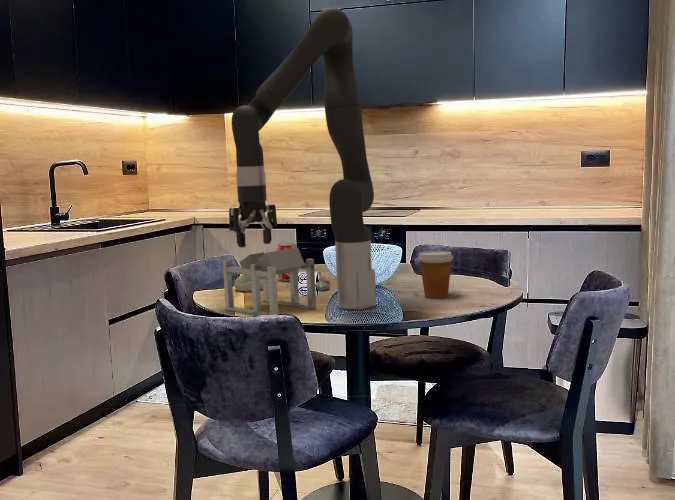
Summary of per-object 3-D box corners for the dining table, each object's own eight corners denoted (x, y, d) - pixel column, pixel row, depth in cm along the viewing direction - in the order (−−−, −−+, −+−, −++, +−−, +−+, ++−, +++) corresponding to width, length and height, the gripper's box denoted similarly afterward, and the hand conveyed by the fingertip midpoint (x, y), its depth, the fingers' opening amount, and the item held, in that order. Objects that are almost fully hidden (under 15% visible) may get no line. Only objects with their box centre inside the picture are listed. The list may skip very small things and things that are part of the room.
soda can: (303, 278, 223) (301, 242, 221) (291, 282, 217) (289, 245, 215) (285, 277, 226) (284, 242, 225) (273, 281, 220) (271, 244, 219)
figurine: (317, 287, 205) (316, 268, 204) (331, 287, 205) (331, 268, 203) (314, 293, 200) (313, 274, 199) (328, 293, 200) (328, 274, 198)
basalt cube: (270, 269, 180) (264, 252, 181) (256, 271, 176) (249, 254, 177) (260, 276, 183) (254, 259, 184) (245, 279, 180) (239, 262, 181)
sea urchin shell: (267, 280, 212) (263, 265, 206) (265, 301, 207) (260, 286, 201) (239, 280, 213) (233, 265, 207) (236, 301, 208) (230, 287, 202)
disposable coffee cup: (440, 301, 179) (439, 256, 178) (411, 297, 186) (410, 253, 184) (460, 295, 186) (460, 251, 184) (432, 291, 192) (431, 249, 191)
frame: (316, 308, 176) (314, 259, 175) (274, 319, 166) (271, 266, 164) (267, 300, 190) (265, 254, 188) (225, 309, 179) (222, 261, 178)
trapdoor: (304, 264, 174) (298, 247, 175) (273, 270, 167) (266, 252, 168) (271, 286, 185) (265, 270, 186) (241, 293, 177) (234, 275, 178)
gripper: (238, 185, 169) (242, 249, 171) (281, 182, 180) (284, 243, 182) (220, 185, 175) (224, 247, 177) (263, 182, 185) (266, 241, 187)
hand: (254, 245), depth 179 cm, fingers open, 8 cm apart
